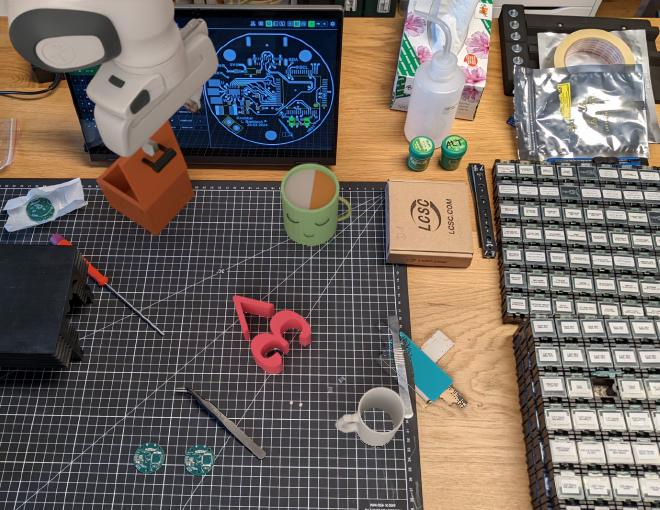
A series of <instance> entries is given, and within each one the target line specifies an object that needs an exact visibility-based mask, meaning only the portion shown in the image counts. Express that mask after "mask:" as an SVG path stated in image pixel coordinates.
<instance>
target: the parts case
mask: <svg viewBox="0 0 660 510" xmlns="http://www.w3.org/2000/svg"><path fill="white" fill-rule="evenodd" d="M124 158H125V157H122V156H120V155H119V158H117V159H116V160H115V161H114V162H113V163H112V164H111V165H110V166H109V167H108V168H107V169H106V170H104V172H103V173H102V174H100V175H99V177H98V178H97V179H96V180H95V181H96V183H97V184H98V187H99V188H100V190H101V192H102V194H103V195H104V197H105V199H106V200H107V202H108V205H109V206H110V207H111V208H113V209H114V210H115V211H116V212H119V213H120V214H122V215H123V216H125V217H127V218H128V219H129V220H131V221H133V222H134V223H135V224H137V225H139V226H140V227H141V228H143V229H145V230H146V231H147V232H149V233H150V234H153V235H154V236H155V237H157V236H159V234H160V233H162V231H164V229H165V228H166V227H167V226H168V225H169V224H170V223H171V222H172V220H173V219H174V218H175V217H176V216H177V215H178V214H179V213H180V212H181V211H182V210H183V209H184V207H186V206H187V204H188V203H189V202H190V201H191V200H192V199H193V198H194V197H195V195H196V194H195V192H194V191H195V190H194V189H193V186H192V182H191V179H190V175H189V172H188V168H187V169H186V170H185V171H184V172H183V173H182V174H181V175H180V176H179V177H178V178H177V179H176V180H175V181H174V182H173V184H172V185H171V186H170V187H169V188H168V189H167V190H166V191H165V192H164V193H163V194H162V195H161V196H160V197H159V198H158V199H157V200H156V201H155V202H154V203H153V204H152V205H151V206H150V207H149V209H148V210H147V211H145V210H144V209H143V208H142V206H141V205H140V203H139V201H138V199H137V197H136V196H135V194H134V192H133V190H132V188H131V187H130V185H129V183H128V181H127V179H126V177H125V176H124V174H123V172H122V170H121V168H120V167H119V165H118V164H119V163H120V162H121V161H122V160H123V159H124Z"/></svg>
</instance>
